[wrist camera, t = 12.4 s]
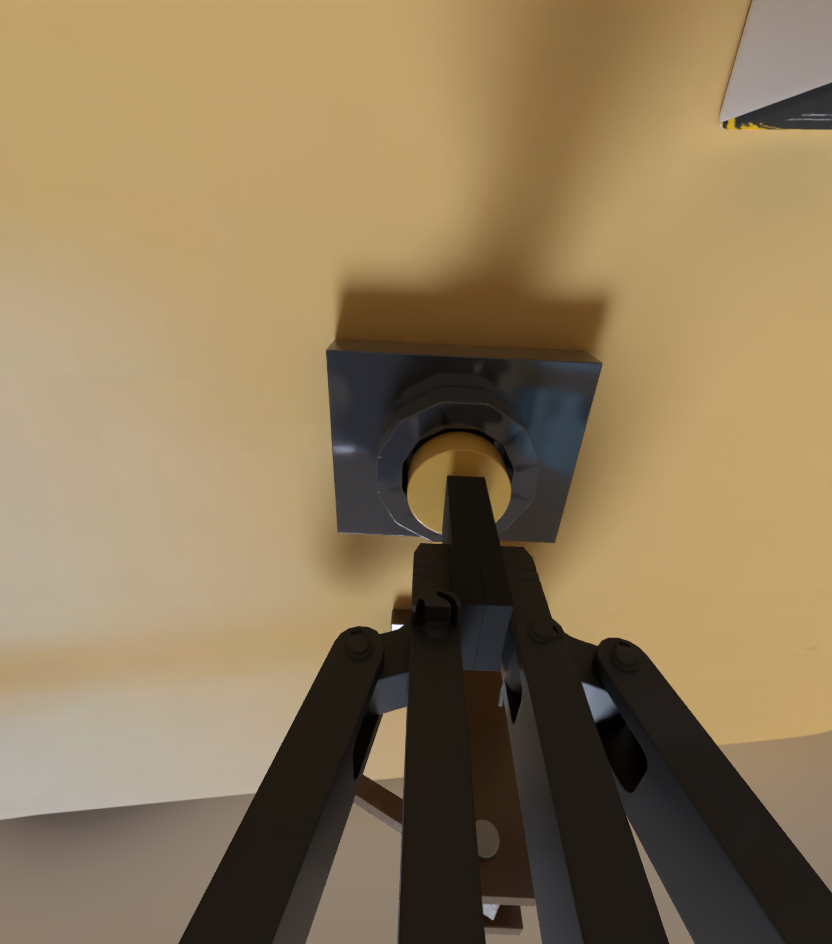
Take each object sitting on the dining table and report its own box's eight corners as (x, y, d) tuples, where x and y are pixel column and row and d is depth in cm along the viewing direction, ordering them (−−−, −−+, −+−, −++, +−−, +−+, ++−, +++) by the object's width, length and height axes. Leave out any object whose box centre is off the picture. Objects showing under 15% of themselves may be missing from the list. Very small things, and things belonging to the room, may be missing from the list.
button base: (343, 512, 25) (330, 557, 21) (334, 339, 20) (314, 362, 16) (546, 521, 25) (565, 568, 21) (587, 351, 20) (621, 377, 16)
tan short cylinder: (407, 511, 20) (405, 534, 19) (410, 428, 18) (408, 446, 17) (497, 516, 20) (503, 539, 19) (511, 433, 18) (519, 451, 17)
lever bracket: (390, 681, 33) (371, 938, 21) (392, 609, 29) (368, 877, 17) (518, 686, 33) (571, 947, 21) (537, 615, 29) (616, 888, 17)
